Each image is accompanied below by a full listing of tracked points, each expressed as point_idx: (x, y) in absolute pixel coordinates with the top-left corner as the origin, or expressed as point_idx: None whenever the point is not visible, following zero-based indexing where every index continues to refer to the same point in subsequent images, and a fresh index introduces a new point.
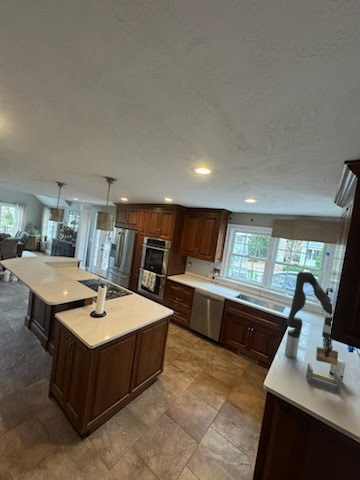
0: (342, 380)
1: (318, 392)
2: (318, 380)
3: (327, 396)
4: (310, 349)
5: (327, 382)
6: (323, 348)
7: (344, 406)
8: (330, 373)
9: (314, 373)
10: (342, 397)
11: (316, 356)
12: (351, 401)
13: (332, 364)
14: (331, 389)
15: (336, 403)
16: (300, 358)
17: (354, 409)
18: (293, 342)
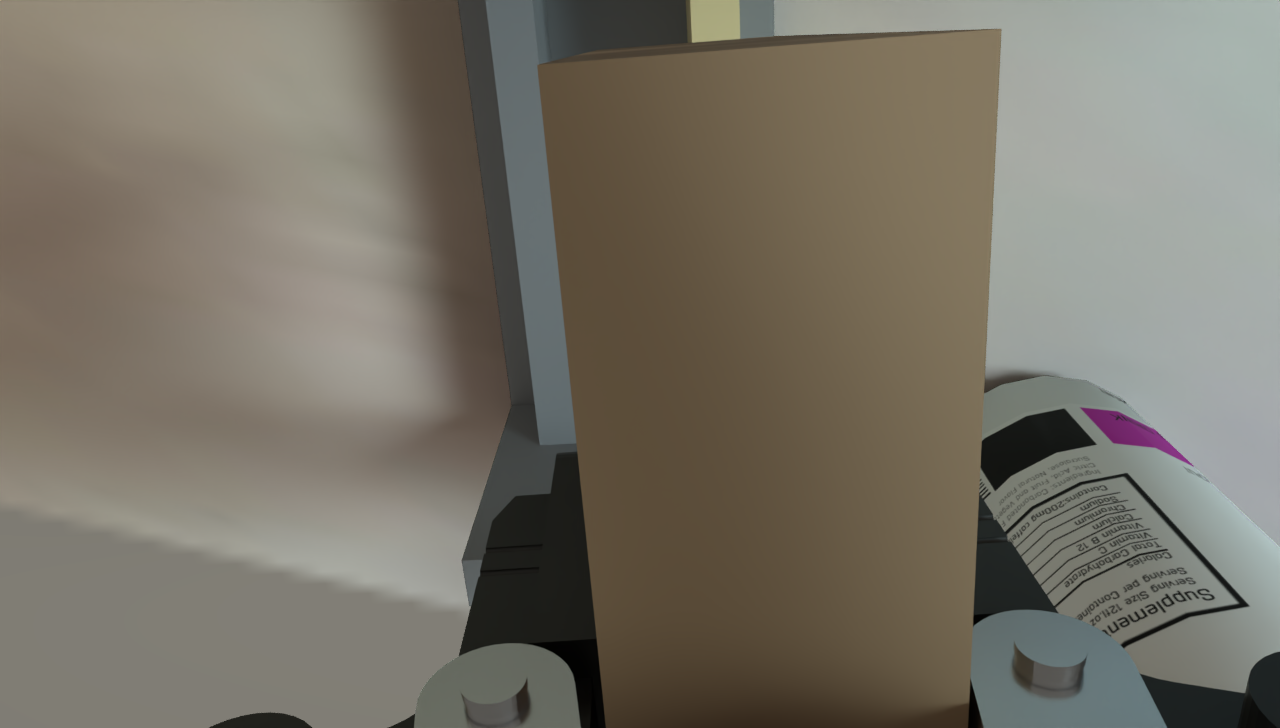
0: None
1: (241, 39)
2: (497, 81)
3: (242, 197)
4: None
5: (530, 275)
6: (762, 613)
7: (166, 419)
8: (1043, 423)
9: (691, 10)
10: (433, 451)
11: (766, 37)
12: (421, 556)
13: (1135, 568)
14: (502, 317)
15: (142, 312)
16: None
17: (215, 542)
18: None
